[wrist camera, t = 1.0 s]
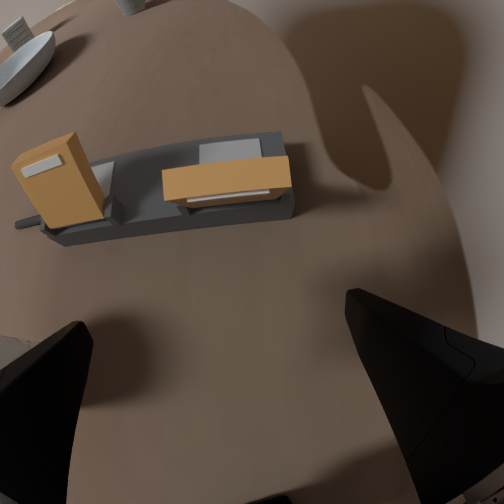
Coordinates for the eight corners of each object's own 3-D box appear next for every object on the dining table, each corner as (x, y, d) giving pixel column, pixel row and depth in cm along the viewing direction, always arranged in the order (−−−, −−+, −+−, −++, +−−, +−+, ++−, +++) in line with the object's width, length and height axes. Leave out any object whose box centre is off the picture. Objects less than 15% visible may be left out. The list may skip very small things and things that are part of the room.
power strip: (291, 220, 23) (298, 193, 18) (13, 256, 23) (-14, 243, 18) (279, 151, 25) (282, 118, 20) (23, 201, 25) (0, 184, 20)
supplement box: (18, 54, 41) (3, 30, 29) (36, 39, 42) (22, 14, 30) (17, 60, 40) (0, 34, 27) (37, 44, 41) (21, 17, 29)
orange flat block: (277, 201, 20) (296, 189, 13) (191, 211, 20) (160, 204, 12) (275, 179, 20) (292, 155, 12) (189, 189, 20) (157, 170, 12)
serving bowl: (-1, 92, 35) (-13, 76, 28) (64, 41, 38) (54, 22, 31) (-13, 137, 30) (-31, 119, 23) (65, 71, 33) (50, 46, 26)
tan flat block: (108, 224, 19) (67, 142, 13) (51, 235, 19) (8, 168, 13) (114, 209, 20) (77, 130, 14) (57, 221, 20) (18, 155, 14)
